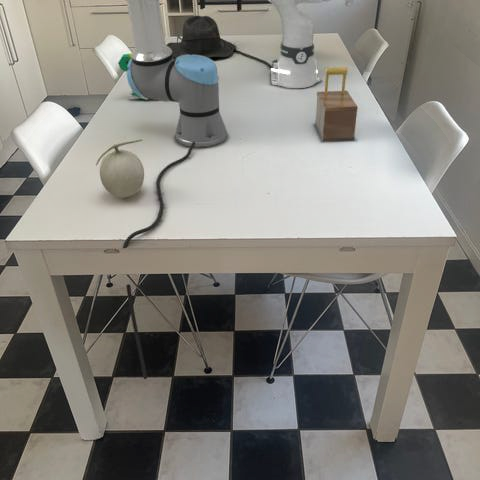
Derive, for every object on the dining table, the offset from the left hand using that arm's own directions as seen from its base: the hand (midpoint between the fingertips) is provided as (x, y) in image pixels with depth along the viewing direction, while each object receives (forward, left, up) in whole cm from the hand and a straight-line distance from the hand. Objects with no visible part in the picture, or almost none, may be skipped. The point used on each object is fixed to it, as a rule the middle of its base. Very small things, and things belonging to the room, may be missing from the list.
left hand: (220, 9), depth 178 cm
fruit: (-84, -5, -27) cm, 88 cm away
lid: (-30, -47, -18) cm, 59 cm away
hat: (+42, +27, -27) cm, 57 cm away
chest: (-30, -48, -27) cm, 63 cm away
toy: (-20, +21, -27) cm, 39 cm away
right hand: (-22, -44, +8) cm, 50 cm away
